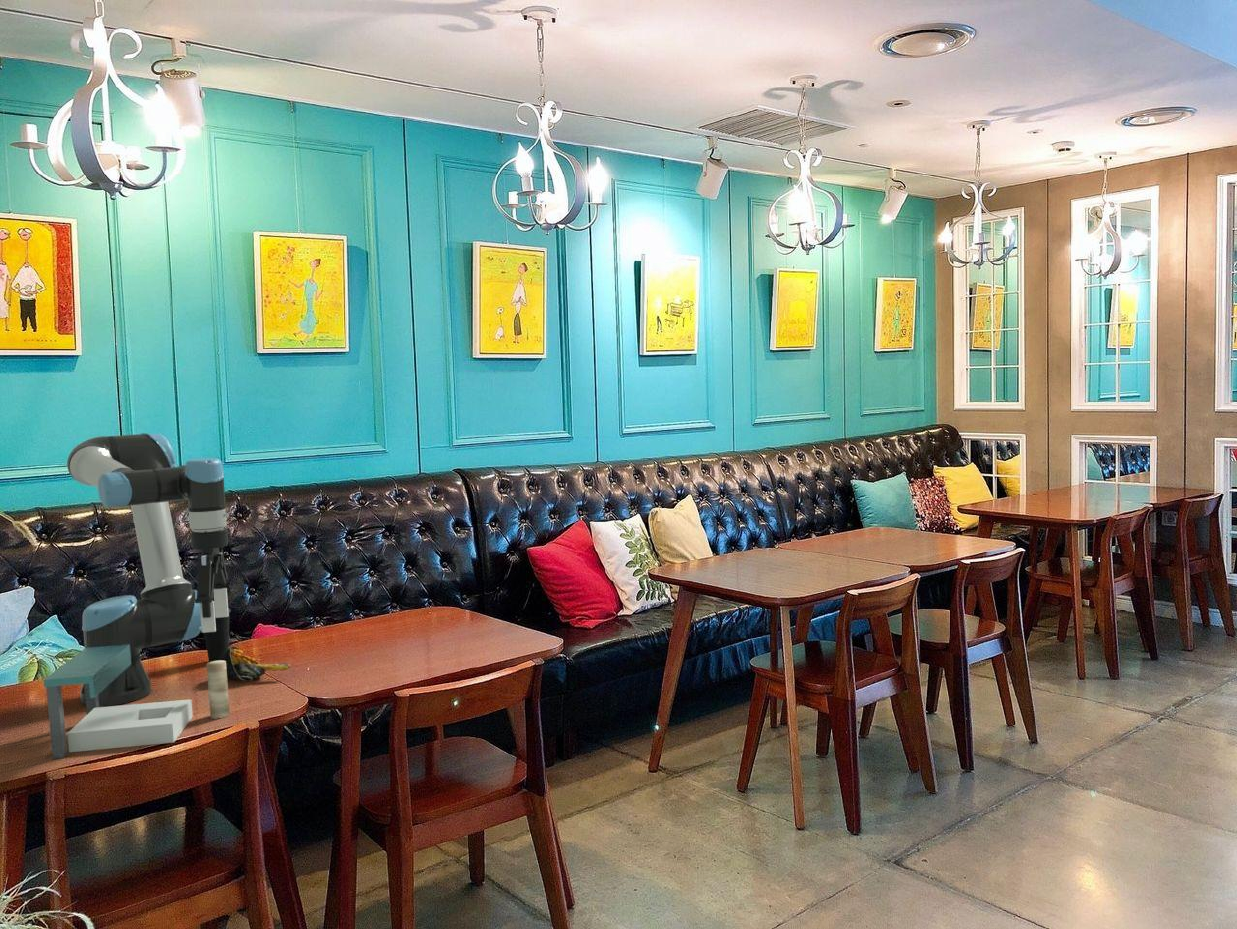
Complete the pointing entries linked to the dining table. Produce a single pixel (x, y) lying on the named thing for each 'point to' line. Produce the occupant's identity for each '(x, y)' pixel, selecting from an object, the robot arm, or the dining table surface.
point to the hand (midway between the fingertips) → (215, 624)
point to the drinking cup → (218, 638)
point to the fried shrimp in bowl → (246, 665)
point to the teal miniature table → (88, 669)
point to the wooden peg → (218, 689)
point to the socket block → (130, 725)
